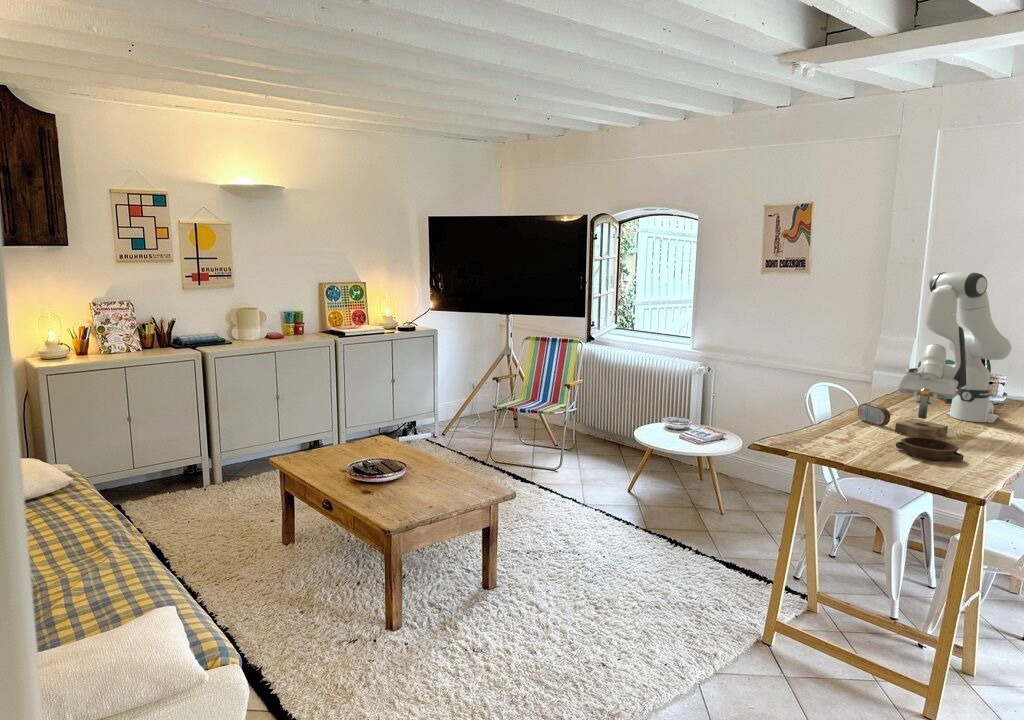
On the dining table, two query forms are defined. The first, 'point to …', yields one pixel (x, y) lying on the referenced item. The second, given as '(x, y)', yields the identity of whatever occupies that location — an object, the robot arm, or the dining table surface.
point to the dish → (930, 448)
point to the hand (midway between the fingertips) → (923, 402)
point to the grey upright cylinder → (923, 403)
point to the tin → (874, 414)
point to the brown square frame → (921, 429)
